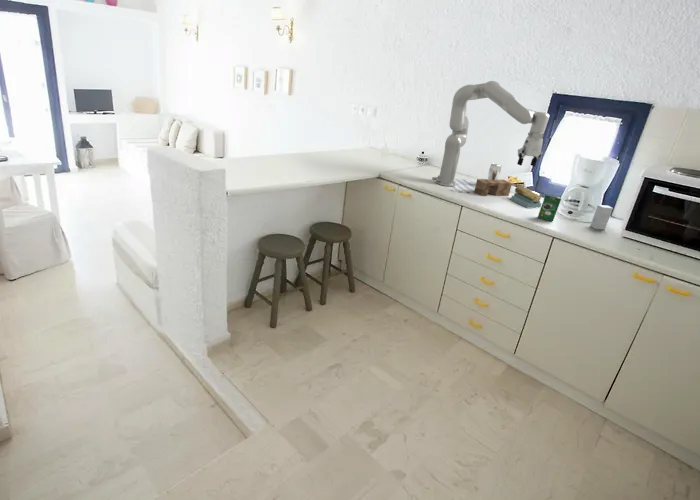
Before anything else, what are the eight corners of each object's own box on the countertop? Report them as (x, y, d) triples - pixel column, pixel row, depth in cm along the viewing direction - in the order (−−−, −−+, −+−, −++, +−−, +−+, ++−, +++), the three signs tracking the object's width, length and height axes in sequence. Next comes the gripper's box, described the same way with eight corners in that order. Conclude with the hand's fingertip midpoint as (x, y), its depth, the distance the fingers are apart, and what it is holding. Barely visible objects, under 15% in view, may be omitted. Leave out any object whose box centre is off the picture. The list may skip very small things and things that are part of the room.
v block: (526, 207, 236) (528, 201, 234) (510, 199, 247) (512, 193, 246) (540, 207, 239) (542, 201, 237) (523, 199, 251) (525, 193, 249)
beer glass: (496, 189, 265) (502, 166, 259) (485, 188, 266) (491, 165, 260) (495, 187, 271) (501, 164, 265) (484, 185, 272) (490, 163, 266)
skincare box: (599, 226, 219) (608, 205, 214) (604, 229, 215) (613, 208, 210) (589, 225, 218) (597, 204, 213) (594, 229, 214) (603, 207, 209)
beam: (481, 195, 248) (485, 183, 244) (474, 191, 254) (477, 179, 251) (508, 195, 255) (512, 183, 251) (500, 191, 261) (503, 179, 258)
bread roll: (538, 202, 236) (542, 194, 234) (532, 201, 234) (535, 193, 232) (520, 193, 250) (523, 185, 248) (513, 192, 248) (516, 185, 246)
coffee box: (553, 220, 219) (561, 197, 213) (553, 222, 217) (561, 198, 211) (537, 216, 222) (545, 193, 217) (537, 218, 220) (544, 194, 214)
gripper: (528, 135, 224) (518, 166, 232) (552, 137, 230) (542, 167, 237) (519, 132, 230) (509, 162, 238) (542, 135, 236) (533, 164, 244)
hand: (526, 165), depth 238 cm, fingers open, 9 cm apart
